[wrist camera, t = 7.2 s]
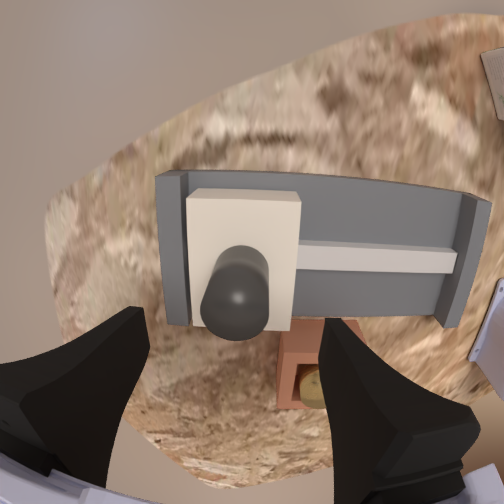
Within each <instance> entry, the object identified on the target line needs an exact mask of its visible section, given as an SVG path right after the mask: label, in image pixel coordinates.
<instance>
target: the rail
mask: <svg viewBox="0 0 504 504" xmlns="http://www.w3.org/2000/svg"><path fill="white" fill-rule="evenodd" d="M155 186H156V207H157V224H158V238H159V251H160V262H161V272H162V282H163V291H164V300H165V308H166V316H167V323H168V324H171V325H181V326H189V323H190V321H191V318H192V306H191V292H190V277H189V260H188V240H187V213H186V198H187V197H188V196H189V195H191V194H192V193H193V192H194V191H195V190H196V189H198V188H217V189H254V190H277V191H296V192H297V194H298V196H299V198H300V200H301V202H302V203H301V217H300V230H299V242H298V253H297V265H296V275H295V286H294V295H293V305H292V314H291V316H333V317H368V316H415V315H434V317H435V318H436V319H437V321H438V322H439V323H440V325H441V326H442V327H443V328H454V327H458V325H459V322H460V319H461V317H462V314H463V311H464V308H465V306H466V303H467V300H468V297H469V294H470V291H471V288H472V284H473V281H474V278H475V274H476V271H477V267H478V264H479V260H480V256H481V253H482V249H483V245H484V240H485V236H486V231H487V227H488V222H489V217H490V212H491V206H492V202H489V201H487V200H485V199H482V198H480V197H478V196H475V195H473V194H470V193H466V192H460V191H454V190H448V189H442V188H436V187H429V186H423V185H416V184H408V183H401V182H393V181H384V180H376V179H367V178H357V177H346V176H335V175H323V174H309V173H293V172H274V171H247V170H169V171H167V172H165V173H162V174H160V175H158V176H155Z"/></svg>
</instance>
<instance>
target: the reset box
mask: <svg viewBox="0 0 504 504" xmlns="http://www.w3.org/2000/svg"><path fill="white" fill-rule="evenodd" d="M343 321H344V322H345V323H346V324H347V325H348V326H349V328H350V329H351V330H352V331H353V332H354V333H355V334H356V335H357V336H358V337H359V338H360V339H361V340H362V341H363V342H364V343H365V344H366V342H365V339H364V337H363V334H362V332H361V330H360V327H359V325H358V322H357V320H343ZM324 323H325V320H292V319H291V323H290V331H281V333H280V343H279V353H278V363H277V372H276V389H277V409H313V408H310V407H307V406H305V405H304V404H303V403H302V401H301V397H300V387H299V377H298V365H299V364H318V354H319V349H320V344H321V339H322V334H323V328H324ZM366 345H367V344H366Z"/></svg>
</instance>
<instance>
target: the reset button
mask: <svg viewBox="0 0 504 504" xmlns="http://www.w3.org/2000/svg"><path fill="white" fill-rule="evenodd" d="M298 377H299V387H300V397H301V401H302V403H303V404H304V405H305V406H307V407H310V408H313V409H324V408H326V405H325V401H324V396H323V392H322V387H321V383H320V377H319V366H318V364H299V365H298Z"/></svg>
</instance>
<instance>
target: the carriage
mask: <svg viewBox="0 0 504 504" xmlns="http://www.w3.org/2000/svg"><path fill="white" fill-rule="evenodd" d="M301 203H302V202H301V200H300V198H299V196H298V194H297V192H296V191H277V190H254V189H217V188H198V189H196V190H195V191H194V192H193V193H192V194H191V195H189V196H188V197H187V198H186V213H187V240H188V260H189V277H190V292H191V306H192V318H193V326H201V327H207V328H208V330H210V331H211V332H212V333H213V334H215V335H216V336H218V337H220V338H223V339H226V340H231V341H243V340H247V339H251V338H253V337H255V336H256V335H258V334H259V333H260V332H262V330H270V331H290V323H291V314H292V305H293V295H294V286H295V275H296V265H297V253H298V242H299V230H300V217H301Z"/></svg>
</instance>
